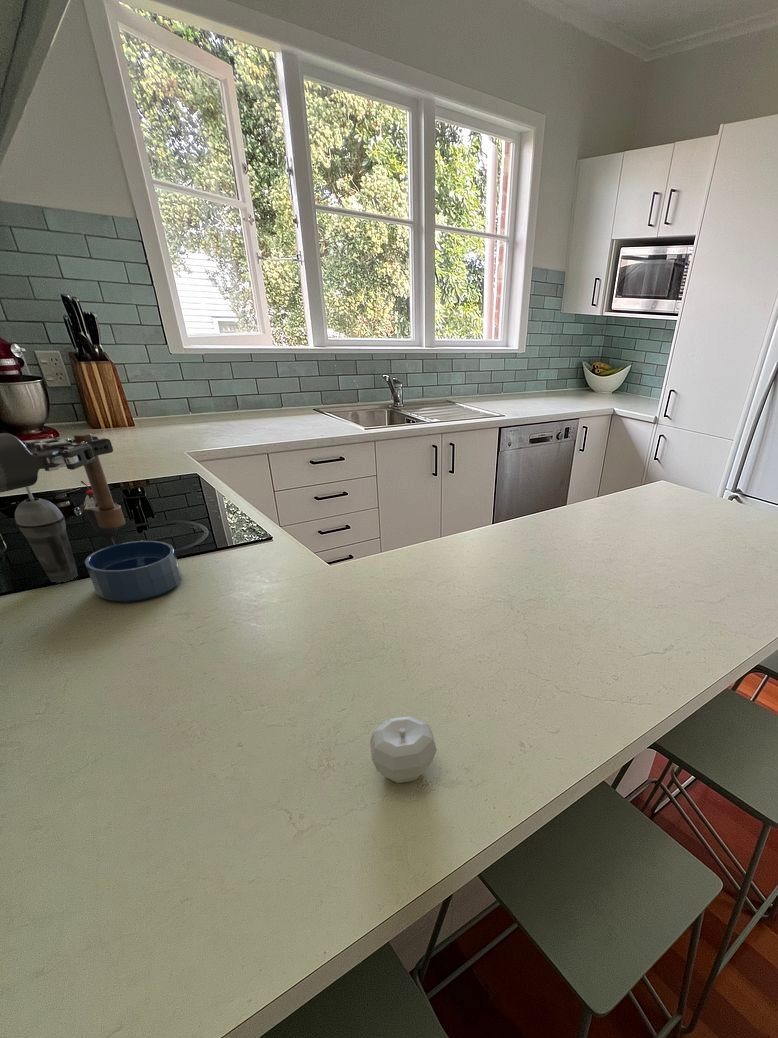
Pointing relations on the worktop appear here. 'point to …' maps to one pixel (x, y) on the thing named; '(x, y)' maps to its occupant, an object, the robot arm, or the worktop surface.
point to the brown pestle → (101, 491)
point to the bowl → (133, 570)
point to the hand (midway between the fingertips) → (103, 443)
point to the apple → (402, 748)
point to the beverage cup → (47, 537)
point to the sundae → (88, 510)
